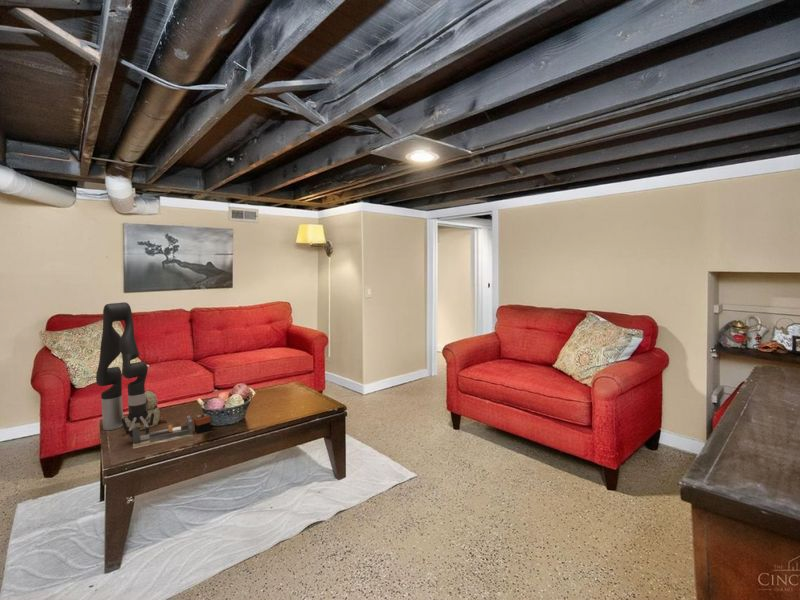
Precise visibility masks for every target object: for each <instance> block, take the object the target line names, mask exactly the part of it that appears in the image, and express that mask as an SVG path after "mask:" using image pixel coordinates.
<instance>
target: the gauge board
mask: <svg viewBox="0 0 800 600" xmlns="http://www.w3.org/2000/svg"><path fill="white" fill-rule="evenodd" d="M180 426H181V431H179V432H174V433H169V434H164V435H159V436H154V437H150V438H147V439H142V440H140V442H137V443H133V442H132V449H137V448H141V447H142V448H143V447H147V446H150V445H156V444H161V443H166V442H171V441H175V440H180V439H184V438H189V437H194V432H193V431H194V429H193V419H192V417H191V415H187V416H186V424H185V425H179V426H178V427H180ZM175 427H176V426H174V427H173V428H175ZM165 429H166V428H164V429H162V430H165ZM160 430H161V429H158V430H157V431H160ZM154 431H155V430H153V431H152V432H154Z"/></svg>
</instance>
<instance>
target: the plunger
mask: <svg viewBox="0 0 800 600" xmlns="http://www.w3.org/2000/svg"><path fill="white" fill-rule="evenodd" d="M167 427H168V428H164V429H165V430H163V429H159V430H160V431H158V430H153V431H154V432H153V431H149V433H147V435H146V432H144V433H141V430H140V427H135V428H132V433H133V438H132V444H133V443H137V442H140V440H142V439H147V438H150V437H154V436H159V435H164V434H169V433H173V430H172V428H173V424H168V425H167Z"/></svg>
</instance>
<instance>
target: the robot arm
mask: <svg viewBox="0 0 800 600" xmlns="http://www.w3.org/2000/svg"><path fill="white" fill-rule="evenodd" d="M121 321H122V322H123V321H124V330H123V332H122V335H120V334H119V333H118V332H117V331H116V330H115V327H114V326H113V323H114V322H121ZM120 354H121V357H122V364H121V365H122V367H121V368H122V369H121V368H120V367H119V366H114V367H110V366H111V364H112V363H113V362H114V361H115V360H116V359H117V358H118V357H119V356H120ZM139 356H140V353H139V349H138V345H137V341H136V336H135V327H134V319H133V313H132V309H131V306H130V304H129V303H128V302H114V303H113V302H112V303H107V304H105V305H104V306H103V309H102V334H101V341H100V349H99V361H98V366H97V371H96V373H95V374H96V377H95V379H96V384H97V386H100V387H106V386H110V385H111V386H110V387H109V388H107V389H106V390H104V391H102V392H101V394H100V399H101V401H100V402H101V414H102V428H103V430H104V431H113V430H117V429H120V428H122V427H123V430H124V431H126V430H129V432H128V434H129V435H128V436H129V438H132V439H133V433H132V428H133V426H134V423H135V424H136V423H141V422H143V424H144V425H145V429H144V430H145V433H146V435H147V433H149V432H150V430H149V429H150V428H149V426H151V425H153V419H154V412H152V413H148V412H147V407H146V395H145V391H146V387H145V386H146V385H145V384H146V379H147V374H148V370H149V369H148V364H147V363H146V362H145V361H137V362H133V363H132V362H131V361H132V360H135V359H137V358H139ZM122 376H123V377H122ZM123 378H125V379H127V380H129V379H134V378H136V379H135V380H133V381H131V382H129V383H128V384H127V394H128V395H127V407H128V408H127V409H128V415H127V416H126V417H124V411H123V410H124V408H123V407H124V406H123V394H122V393H123V392H122V391H123V388H122V387H123V386H122V384H123V383H122V380H123ZM148 415H149V417H150V423H147V421H146V417H147V416H148ZM128 419H129V420H130V421H131V424H130V426H129V427H127V424H126V422H127V420H128Z"/></svg>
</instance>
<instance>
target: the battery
mask: <svg viewBox="0 0 800 600" xmlns="http://www.w3.org/2000/svg"><path fill="white" fill-rule="evenodd" d="M193 419H194V423H193V424H194V433H196V435H199V434H200V435H201V434H203V433H206V432H210V431H211V430H212V429H211V424H212V423H211V415H209V414H207V413H204V414H202V415H201V414H197V415H196V416H195V417H193Z"/></svg>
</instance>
